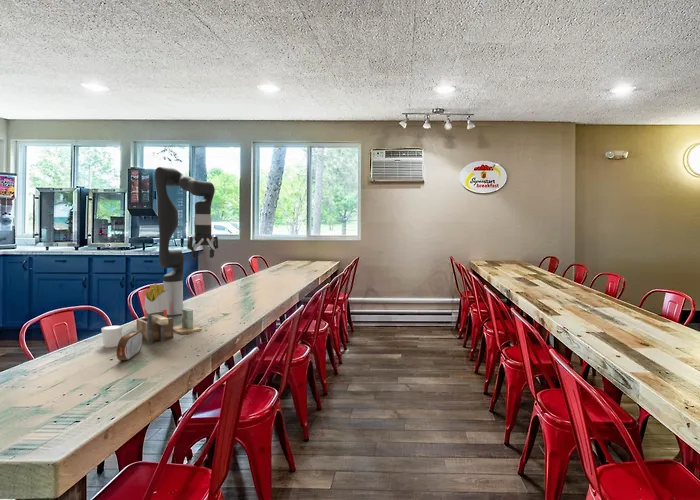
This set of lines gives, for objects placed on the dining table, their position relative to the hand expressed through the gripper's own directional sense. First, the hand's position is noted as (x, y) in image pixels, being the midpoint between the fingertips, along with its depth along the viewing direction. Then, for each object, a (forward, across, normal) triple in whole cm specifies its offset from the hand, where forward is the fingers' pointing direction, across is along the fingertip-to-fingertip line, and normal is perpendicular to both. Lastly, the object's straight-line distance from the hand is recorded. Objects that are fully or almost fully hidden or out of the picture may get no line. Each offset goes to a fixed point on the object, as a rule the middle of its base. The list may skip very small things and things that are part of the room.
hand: (203, 258), depth 189 cm
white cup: (+31, -42, -10) cm, 53 cm away
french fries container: (+31, -17, +14) cm, 38 cm away
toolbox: (+30, -27, -11) cm, 42 cm away
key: (+22, -29, -22) cm, 42 cm away
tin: (+30, -42, -29) cm, 60 cm away
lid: (+31, -13, -9) cm, 35 cm away
